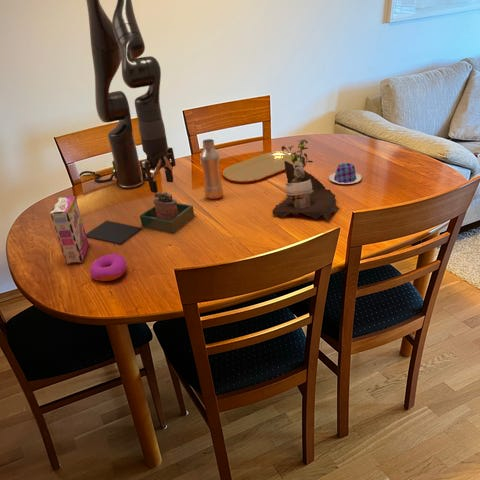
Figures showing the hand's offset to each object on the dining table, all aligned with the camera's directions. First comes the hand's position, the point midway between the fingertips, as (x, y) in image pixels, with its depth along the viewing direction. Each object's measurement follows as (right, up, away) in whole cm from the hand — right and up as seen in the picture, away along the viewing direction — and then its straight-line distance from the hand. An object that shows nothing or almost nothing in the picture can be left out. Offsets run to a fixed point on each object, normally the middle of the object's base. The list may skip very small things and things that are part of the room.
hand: (162, 187), depth 146 cm
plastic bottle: (+15, +2, +20) cm, 26 cm away
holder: (+1, -9, +8) cm, 12 cm away
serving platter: (+34, +18, +39) cm, 54 cm away
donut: (-12, -29, -16) cm, 35 cm away
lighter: (+1, -10, +8) cm, 12 cm away
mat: (-17, -14, +4) cm, 22 cm away
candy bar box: (-25, -22, -5) cm, 34 cm away
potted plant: (+47, -4, +10) cm, 48 cm away
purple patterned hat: (+64, +10, +25) cm, 69 cm away
